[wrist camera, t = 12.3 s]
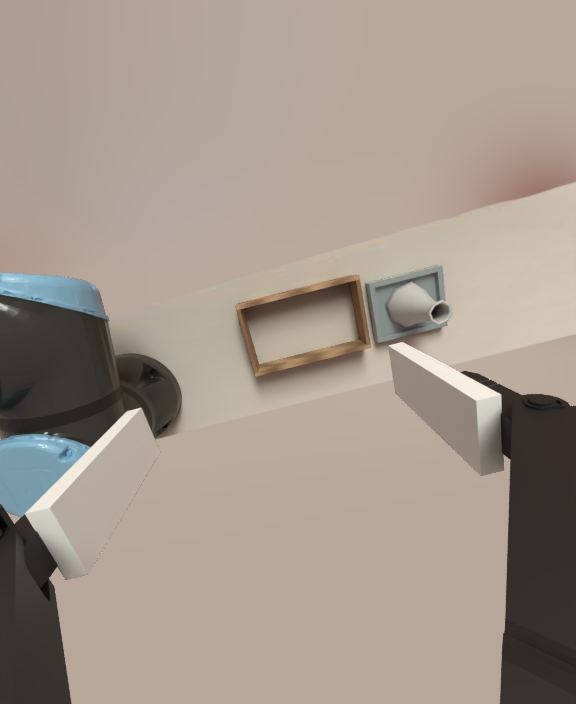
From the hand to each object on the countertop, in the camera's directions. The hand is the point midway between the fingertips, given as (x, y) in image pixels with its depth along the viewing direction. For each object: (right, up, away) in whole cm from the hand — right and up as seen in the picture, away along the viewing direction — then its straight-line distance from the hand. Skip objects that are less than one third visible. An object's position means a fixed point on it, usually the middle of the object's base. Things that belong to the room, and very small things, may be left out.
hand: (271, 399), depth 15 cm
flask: (+21, +10, +34) cm, 41 cm away
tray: (+21, +11, +35) cm, 42 cm away
